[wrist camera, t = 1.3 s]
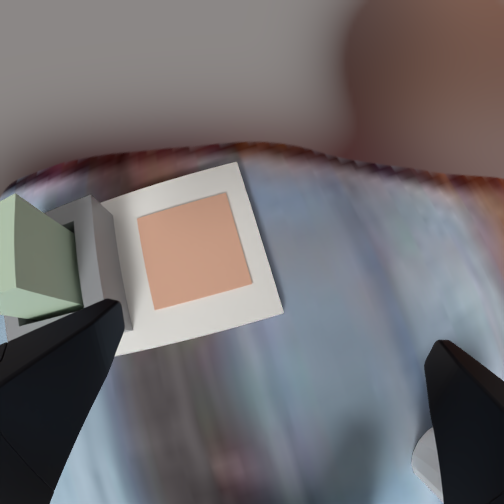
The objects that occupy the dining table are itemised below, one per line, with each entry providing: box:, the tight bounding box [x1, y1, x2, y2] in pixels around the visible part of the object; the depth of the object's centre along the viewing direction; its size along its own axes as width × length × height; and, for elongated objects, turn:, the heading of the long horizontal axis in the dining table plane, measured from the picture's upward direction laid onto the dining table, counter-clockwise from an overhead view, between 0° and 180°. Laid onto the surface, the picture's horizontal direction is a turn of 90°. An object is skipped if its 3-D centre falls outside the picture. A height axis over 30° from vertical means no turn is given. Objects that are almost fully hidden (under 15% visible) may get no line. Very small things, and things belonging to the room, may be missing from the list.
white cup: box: [411, 427, 444, 503], centre depth 15 cm, size 7×7×7 cm
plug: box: [0, 193, 84, 321], centre depth 16 cm, size 5×5×10 cm
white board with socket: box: [4, 162, 284, 357], centre depth 20 cm, size 12×20×5 cm, turn 106°
